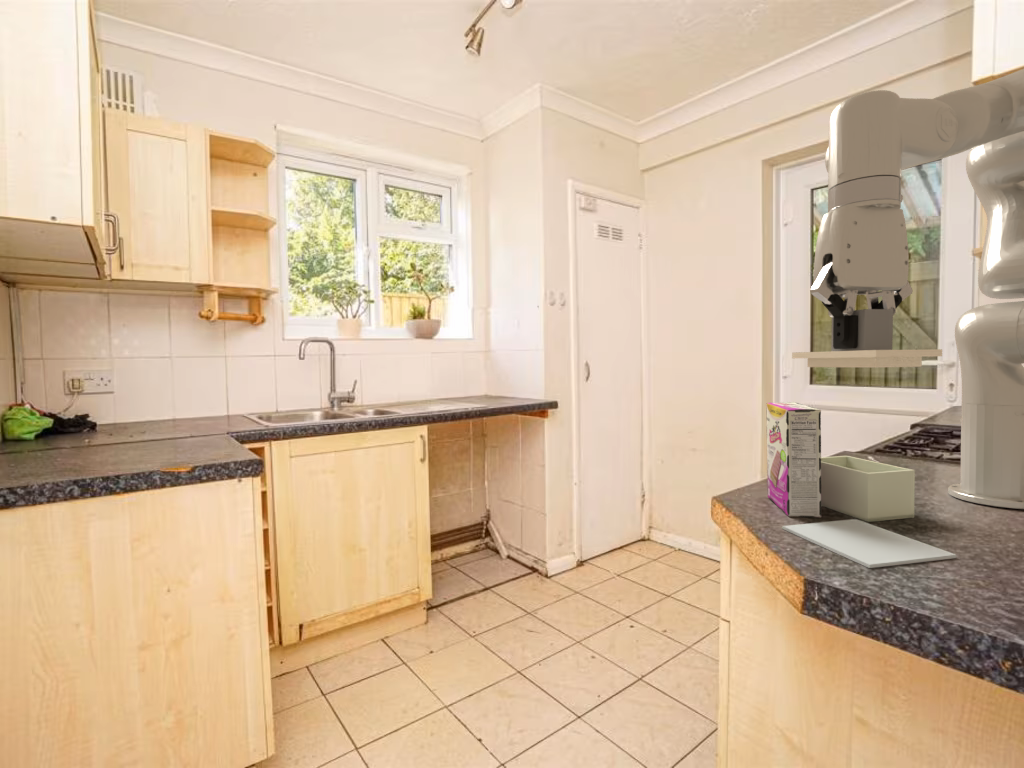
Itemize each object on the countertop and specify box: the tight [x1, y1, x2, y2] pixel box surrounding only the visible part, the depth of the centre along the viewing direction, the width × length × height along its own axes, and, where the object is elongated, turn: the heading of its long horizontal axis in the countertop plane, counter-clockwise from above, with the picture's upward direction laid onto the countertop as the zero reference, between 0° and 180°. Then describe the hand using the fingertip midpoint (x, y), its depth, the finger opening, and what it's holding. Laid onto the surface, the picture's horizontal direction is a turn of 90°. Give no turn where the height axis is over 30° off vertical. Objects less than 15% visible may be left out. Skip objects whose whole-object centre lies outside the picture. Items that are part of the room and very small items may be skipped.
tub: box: [821, 455, 916, 523], centre depth 80 cm, size 8×12×7 cm, turn 11°
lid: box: [791, 308, 943, 369], centre depth 65 cm, size 9×13×7 cm
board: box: [781, 518, 957, 569], centre depth 66 cm, size 12×14×1 cm
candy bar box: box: [765, 401, 822, 518], centre depth 81 cm, size 11×5×16 cm, turn 168°
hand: (861, 346), depth 65 cm, fingers closed on lid, 4 cm apart
